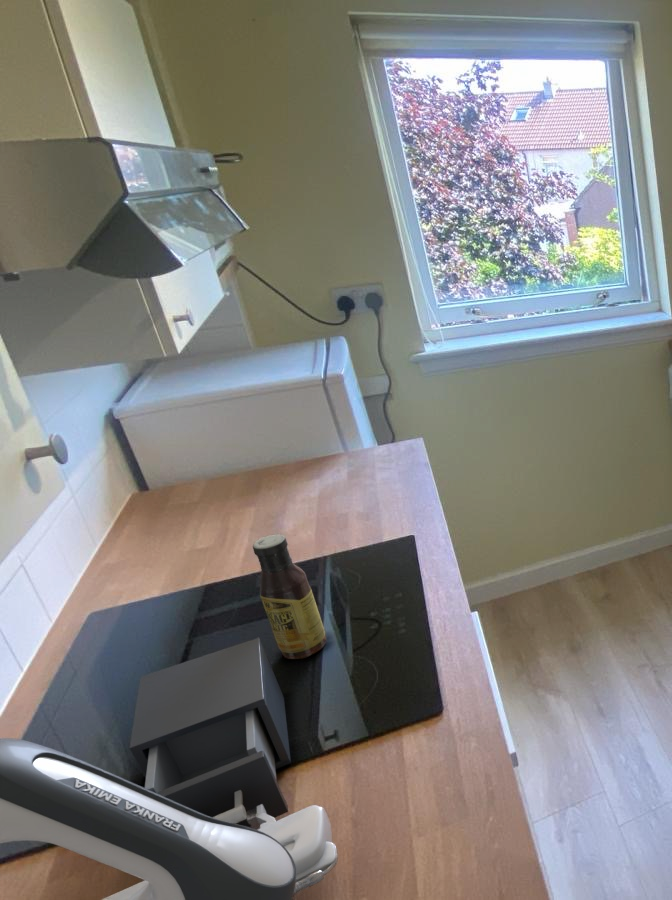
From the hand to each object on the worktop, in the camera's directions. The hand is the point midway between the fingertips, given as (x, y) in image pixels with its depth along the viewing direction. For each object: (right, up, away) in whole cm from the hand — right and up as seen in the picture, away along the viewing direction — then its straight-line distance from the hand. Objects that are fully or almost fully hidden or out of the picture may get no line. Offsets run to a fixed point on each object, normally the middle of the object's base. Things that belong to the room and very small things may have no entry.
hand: (215, 828), depth 80 cm
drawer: (-4, -1, +7) cm, 8 cm away
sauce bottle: (-14, +10, +35) cm, 39 cm away
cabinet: (-11, +2, +16) cm, 20 cm away
